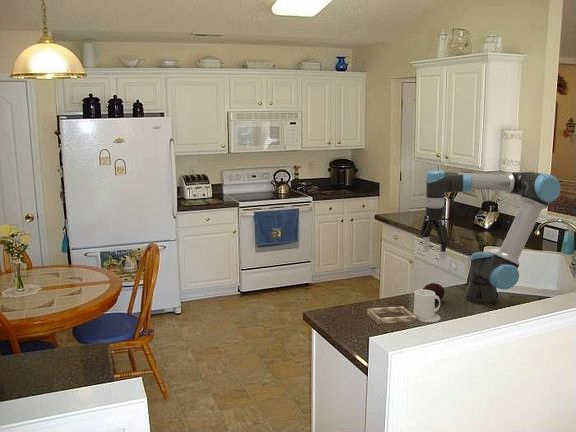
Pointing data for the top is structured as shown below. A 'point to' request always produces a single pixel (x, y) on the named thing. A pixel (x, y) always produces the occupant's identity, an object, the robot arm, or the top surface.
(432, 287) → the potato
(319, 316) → the top surface
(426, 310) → the mug
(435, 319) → the plate
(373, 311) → the wooden picture frame
